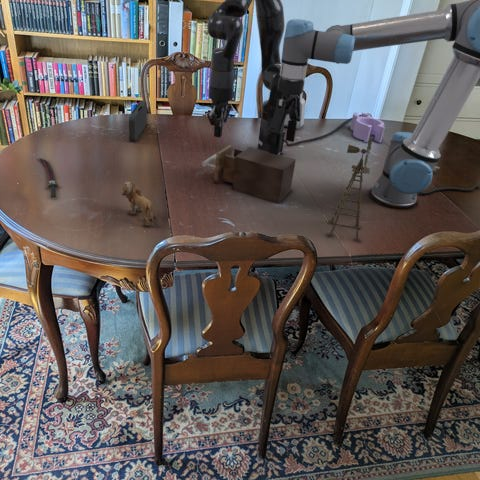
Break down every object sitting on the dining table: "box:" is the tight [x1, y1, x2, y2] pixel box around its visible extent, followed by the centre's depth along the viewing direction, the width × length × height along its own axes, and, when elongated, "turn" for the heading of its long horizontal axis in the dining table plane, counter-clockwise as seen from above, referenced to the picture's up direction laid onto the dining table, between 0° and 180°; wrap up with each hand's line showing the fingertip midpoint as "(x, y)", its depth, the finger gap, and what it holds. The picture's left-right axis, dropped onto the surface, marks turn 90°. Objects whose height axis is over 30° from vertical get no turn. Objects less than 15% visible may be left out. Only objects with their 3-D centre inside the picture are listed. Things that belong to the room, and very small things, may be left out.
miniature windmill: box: [329, 134, 373, 241], centre depth 132 cm, size 9×8×30 cm
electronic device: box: [284, 61, 309, 130], centre depth 208 cm, size 12×8×30 cm, turn 71°
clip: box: [349, 112, 386, 143], centre depth 214 cm, size 20×12×7 cm, turn 11°
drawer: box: [201, 144, 245, 184], centre depth 158 cm, size 21×10×10 cm, turn 64°
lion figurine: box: [119, 181, 159, 227], centre depth 134 cm, size 15×5×9 cm, turn 50°
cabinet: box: [231, 146, 296, 204], centre depth 155 cm, size 17×11×12 cm, turn 64°
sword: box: [40, 158, 59, 198], centre depth 151 cm, size 31×3×1 cm, turn 26°
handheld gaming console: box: [128, 100, 148, 142], centre depth 189 cm, size 23×3×10 cm, turn 178°
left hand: (217, 136), depth 156 cm, fingers closed
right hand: (281, 147), depth 147 cm, fingers open, 13 cm apart
